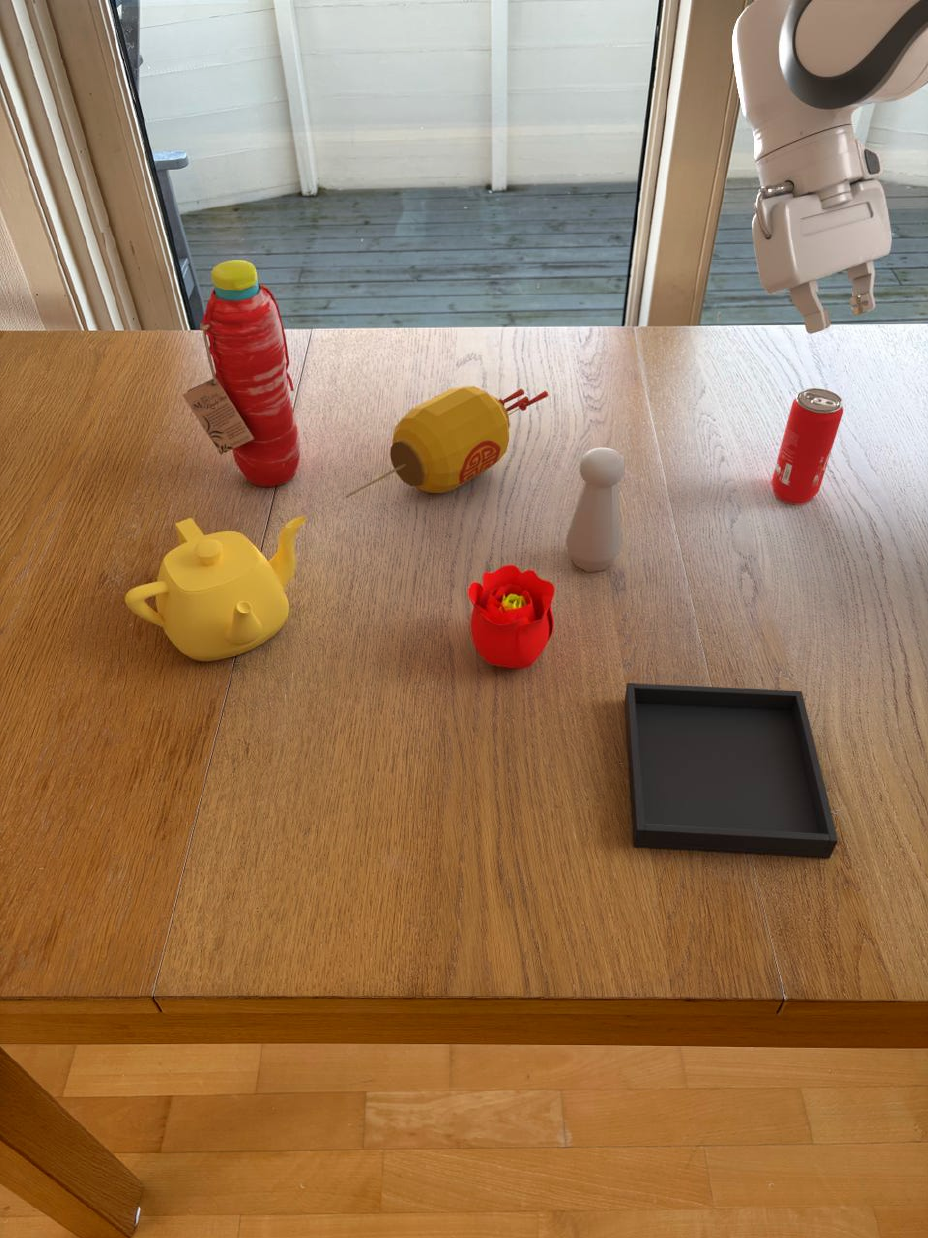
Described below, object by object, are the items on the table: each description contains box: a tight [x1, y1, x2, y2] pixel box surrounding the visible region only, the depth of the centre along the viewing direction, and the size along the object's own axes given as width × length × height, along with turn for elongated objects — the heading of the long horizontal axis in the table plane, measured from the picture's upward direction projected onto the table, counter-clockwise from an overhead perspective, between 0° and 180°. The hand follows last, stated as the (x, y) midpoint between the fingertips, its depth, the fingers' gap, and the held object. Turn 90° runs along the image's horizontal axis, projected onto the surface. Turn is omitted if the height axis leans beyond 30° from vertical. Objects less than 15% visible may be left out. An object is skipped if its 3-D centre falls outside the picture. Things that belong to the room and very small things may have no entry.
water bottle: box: [181, 259, 302, 488], centre depth 102 cm, size 12×8×25 cm, turn 132°
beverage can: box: [771, 387, 844, 505], centre depth 103 cm, size 5×5×12 cm
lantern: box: [345, 385, 549, 499], centre depth 107 cm, size 10×10×30 cm
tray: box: [623, 682, 839, 859], centre depth 79 cm, size 15×15×2 cm
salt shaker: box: [565, 447, 626, 573], centre depth 95 cm, size 6×6×13 cm
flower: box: [467, 564, 556, 670], centre depth 87 cm, size 8×8×8 cm
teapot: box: [124, 515, 307, 662], centre depth 90 cm, size 14×13×10 cm
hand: (842, 321), depth 93 cm, fingers open, 8 cm apart
